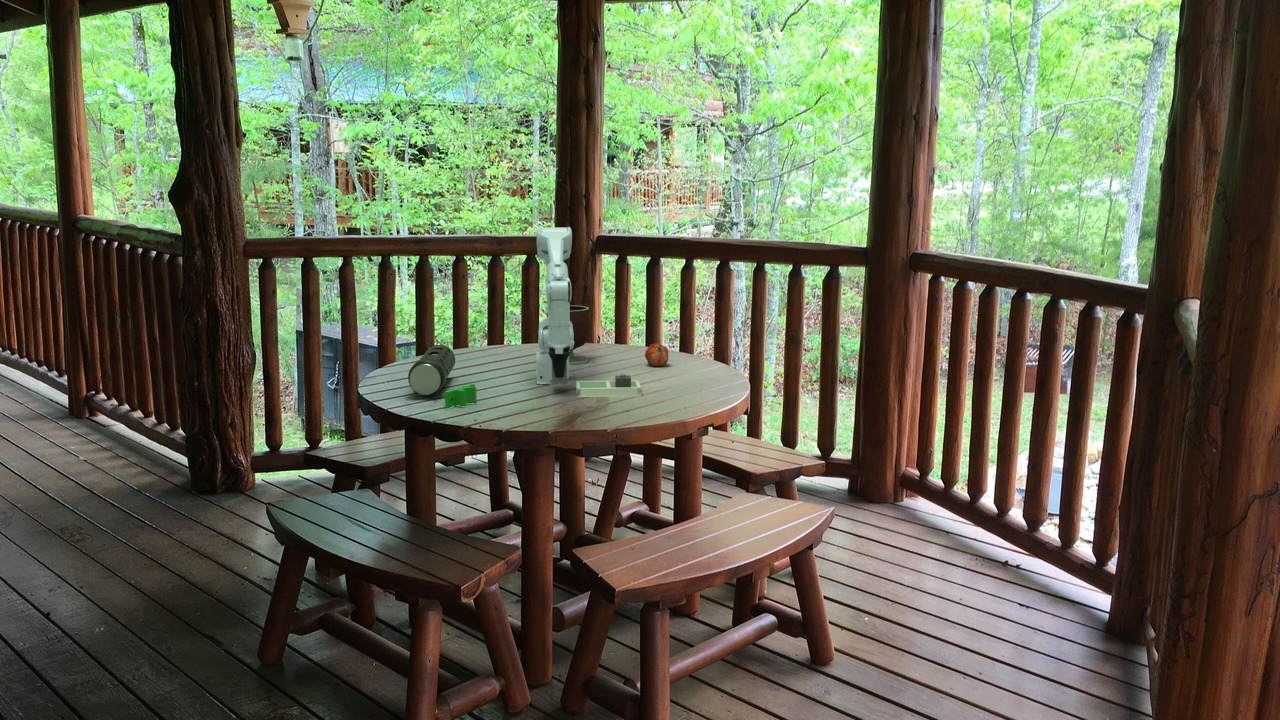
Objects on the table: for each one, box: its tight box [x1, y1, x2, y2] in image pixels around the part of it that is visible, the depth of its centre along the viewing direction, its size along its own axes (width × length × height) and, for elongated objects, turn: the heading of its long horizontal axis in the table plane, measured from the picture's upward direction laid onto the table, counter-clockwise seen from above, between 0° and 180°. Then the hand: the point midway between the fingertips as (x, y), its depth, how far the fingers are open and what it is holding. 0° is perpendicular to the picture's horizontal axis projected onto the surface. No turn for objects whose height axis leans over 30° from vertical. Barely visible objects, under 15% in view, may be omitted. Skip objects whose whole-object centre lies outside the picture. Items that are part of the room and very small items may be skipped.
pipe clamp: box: [444, 383, 478, 409], centre depth 250 cm, size 11×4×5 cm, turn 153°
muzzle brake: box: [407, 344, 456, 396], centre depth 268 cm, size 10×28×10 cm, turn 4°
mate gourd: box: [543, 300, 591, 366], centre depth 307 cm, size 16×14×20 cm
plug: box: [614, 373, 632, 388], centre depth 260 cm, size 4×4×5 cm
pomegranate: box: [644, 342, 669, 367], centre depth 303 cm, size 7×7×10 cm
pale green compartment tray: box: [575, 379, 642, 398], centre depth 260 cm, size 17×11×3 cm, turn 94°
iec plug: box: [551, 362, 568, 385], centre depth 261 cm, size 4×4×7 cm
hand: (559, 375), depth 261 cm, fingers closed on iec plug, 4 cm apart
